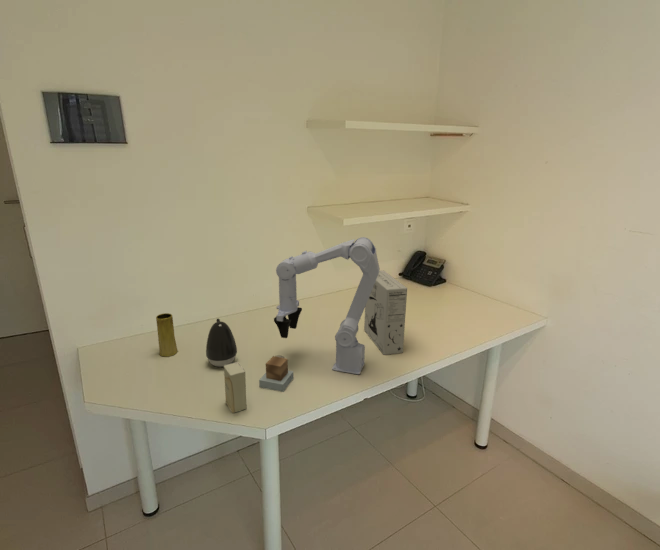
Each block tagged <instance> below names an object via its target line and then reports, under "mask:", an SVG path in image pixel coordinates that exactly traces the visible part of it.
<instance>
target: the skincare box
mask: <svg viewBox="0 0 660 550" xmlns="http://www.w3.org/2000/svg"><path fill="white" fill-rule="evenodd" d="M223 372H224V373H223V375H224V391H225V393H224V394H225V403H226V405H227V407H228V408H229V410H230V411H231V412H230V413H232V414H235V413H238V412H241V411H244V410H247V387H246V386H247V385H246V384H247V383H246V382H247V381H246V380H247V379H246V370H245V369H244V368H243V366H242V365H241V364H240V362H238V361H236V362H232V363H231V364H228V365H224V366H223Z"/></svg>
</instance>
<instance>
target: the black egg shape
mask: <svg viewBox="0 0 660 550" xmlns="http://www.w3.org/2000/svg"><path fill="white" fill-rule="evenodd" d="M215 320H216V322H214V323H213V324H212V325H211V326H210V329H209V332H208V336H207V340H206V346H205V356H206V358H207V360H208V362H209V363H210V364H211V365H212V366H215V367H223V368H224V365H228V364H231V363H234V360H235V358H236V356H237V353H238V347H237V344H236V339H235V337H234V334H233V332H232V329H231V328H230V326H229V325H228V324H227V323H226V322H224V321H221V319H220V318H216V319H215Z"/></svg>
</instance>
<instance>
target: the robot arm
mask: <svg viewBox="0 0 660 550" xmlns="http://www.w3.org/2000/svg"><path fill="white" fill-rule="evenodd" d="M337 258H343V259H345V260H347V261H349V260H350V259H351V261H352V262H353V263H354V264H355V265H357V266H358V267H359V269H360V271H361V273H362V276H361V279H360V281H359V284H358V286H357V288H356V291H355V294H354V296H353V299H352V301H351V304H350V306H349V309H348V311H347V314H346V317H345V318H344V319H343V320H342V321H341V323H340V325H339V328H338V330H337V332H336V334H335V337H334V338H335V362H334V364H333V366H332V367H331V370H332V371H337V372H341V373H342V372H343V373H348V374H353V375H360V374H361V372H362V371H363V368H364V366H365V363H366V362H365V357H366V356H365V353H366V351H365V349H366V345H365V344H363V343H361V342H359V340H358V339H357V333H358V332H359V323H360V320H361V317H362V315H363V313H364V312H365V306H366V303H367V301H368V299H369V296H370V294H371V291H372V289H373V286H374V284H375V281H376V279H377V277H378V274H379V271H381V270H380V265H379V259H378V254H377V248H376V246H375V245H374V243H373V241H371V239H370V238H368V237H365V236H362V237H358V238H357V239H356V238H354V239H350V240H347V241H343V242H341V243H339V244H336V245H334V246H331V247H329V248H326V249H324V250H321V251H319V252H316V253H315V252H313V251H307V250H304V251H302V252H301V254H298V255H296V256H292V255H291V256H289V257H288V258H285V259H284V260H282V261H281V262H280V263H279V264H278V265H277V266H276V269H275V273H276V276H277V277H278V297H279V298H278V299H279V300H278V301H279V303H278V305H277V306H276V307H275V308H276V310H278V311H277V314H276V316H275V317H273V322H274V323H275V325H276V327H277V329H278V331H279V335H280V338H283V339H287V338H288V337H289V329H297V327H298V321H299V317H300V316H301V312H302V310H303V308H302V307H299V306H300V300H297V298H298V297H297V296H298V295H297V275H300V274H303V273H306V272H310V271H312V270H315V269H317V267H318V265H319V264H320V263H324V262H327V261H331V260H334V259H337Z"/></svg>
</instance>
